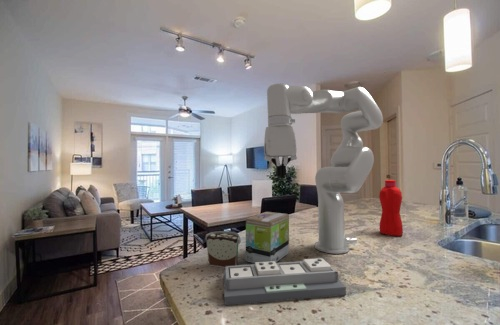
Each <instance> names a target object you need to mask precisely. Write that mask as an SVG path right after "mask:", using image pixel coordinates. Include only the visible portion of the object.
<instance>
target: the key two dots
mask: <svg viewBox="0 0 500 325" xmlns="http://www.w3.org/2000/svg"><path fill="white" fill-rule="evenodd" d="M250 276H253V275H252V271H251V268H250V267H245V268H230V278H236V277H250Z"/></svg>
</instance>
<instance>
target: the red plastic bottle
mask: <svg viewBox="0 0 500 325" xmlns="http://www.w3.org/2000/svg"><path fill="white" fill-rule="evenodd" d="M396 182H397V181H396V180H394V179H385V180H384V186H383V187H382V188H381V189H380V191H379V195H378V198H379V201H380V202H379V203H380V205H381V206H380V207H381V215H380V216H381V217H380V221H379V232H380V233H381V234H382V235H384V234H385V236H392V237H393V236H395V237H401V236H402V235H403V231H404V230H403V228H404V227H403V222H402V216H401V214H400V213H401V212H400V211H401V206H402V202H403V194H402V193H403V192H402V191H401V190H400V189H399V187H397V185H396V184H397V183H396Z"/></svg>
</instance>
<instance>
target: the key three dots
mask: <svg viewBox="0 0 500 325" xmlns="http://www.w3.org/2000/svg"><path fill="white" fill-rule="evenodd" d="M303 261H304V265H305V266H306V267H307V269H308V270H309V271H310V272H322V271H331V266H332V265H331V264H330V263H329V264H330V265H331V266H330V265H329V264H328V261H327V260H325V259H324V258H323V257H320V258H318V257H317V258H307V259H306V258H305V259H304V258H303Z"/></svg>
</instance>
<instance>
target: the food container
mask: <svg viewBox="0 0 500 325" xmlns="http://www.w3.org/2000/svg"><path fill="white" fill-rule="evenodd" d="M204 237H205V238H204V241H206V248H207V249H206V250H207V259H208V266H212V267H216V268H217V267H218V268H225V266H235V265H237V264H238V256H239V245H240V244H241V243H242V240H241V237H240V235H239V233H238V232H234V231H227V230H217V231H211V232H209V233H206V234H205V236H204Z"/></svg>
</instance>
